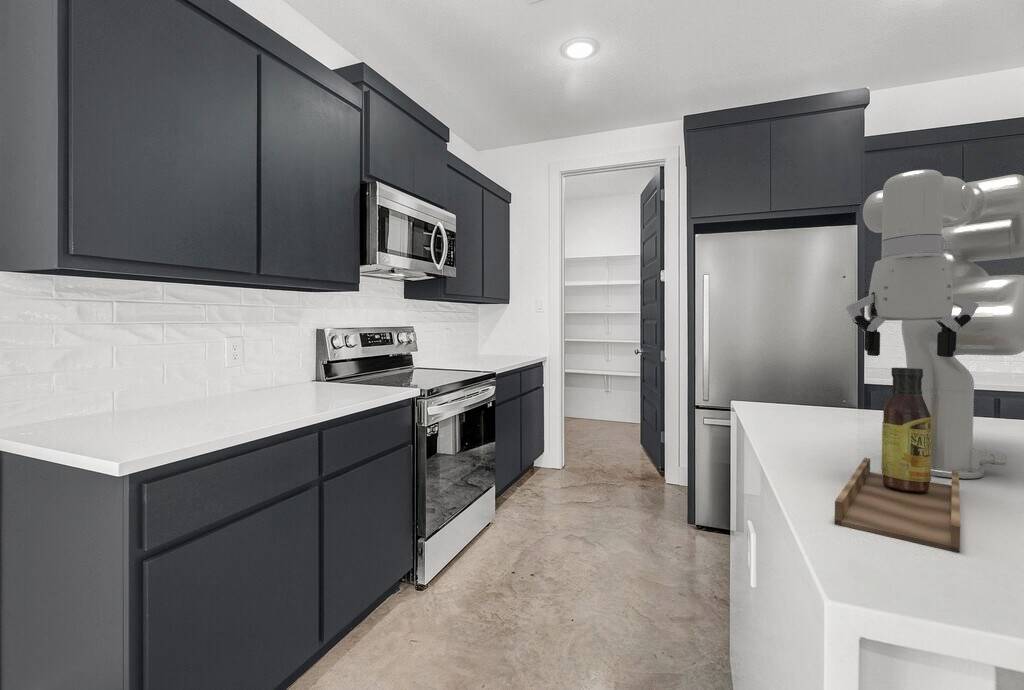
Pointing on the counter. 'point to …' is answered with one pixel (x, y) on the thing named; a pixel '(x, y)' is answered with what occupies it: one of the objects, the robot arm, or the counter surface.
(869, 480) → the tray
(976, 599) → the counter surface
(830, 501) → the counter surface
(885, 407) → the sauce bottle
